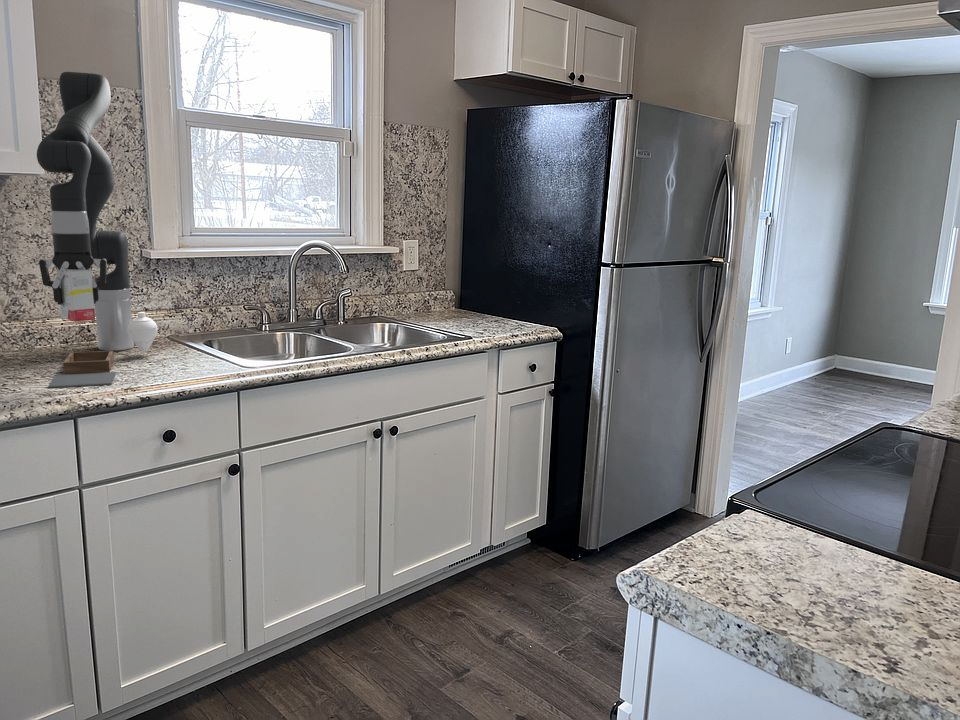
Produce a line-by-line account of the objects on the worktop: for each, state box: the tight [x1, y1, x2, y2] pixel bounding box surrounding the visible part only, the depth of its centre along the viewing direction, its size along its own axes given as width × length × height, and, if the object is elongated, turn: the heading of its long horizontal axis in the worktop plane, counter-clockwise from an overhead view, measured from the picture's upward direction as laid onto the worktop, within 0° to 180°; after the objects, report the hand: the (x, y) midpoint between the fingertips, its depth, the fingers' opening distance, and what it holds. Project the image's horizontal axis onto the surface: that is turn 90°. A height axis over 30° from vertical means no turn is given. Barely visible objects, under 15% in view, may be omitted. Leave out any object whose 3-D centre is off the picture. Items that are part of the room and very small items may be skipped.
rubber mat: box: [47, 371, 117, 389], centre depth 179 cm, size 12×13×1 cm
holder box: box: [62, 350, 115, 374], centre depth 191 cm, size 13×10×3 cm
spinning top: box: [127, 311, 159, 356], centre depth 207 cm, size 8×8×12 cm
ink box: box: [56, 268, 96, 323], centre depth 175 cm, size 9×5×12 cm, turn 46°
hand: (77, 303), depth 175 cm, fingers closed on ink box, 6 cm apart
